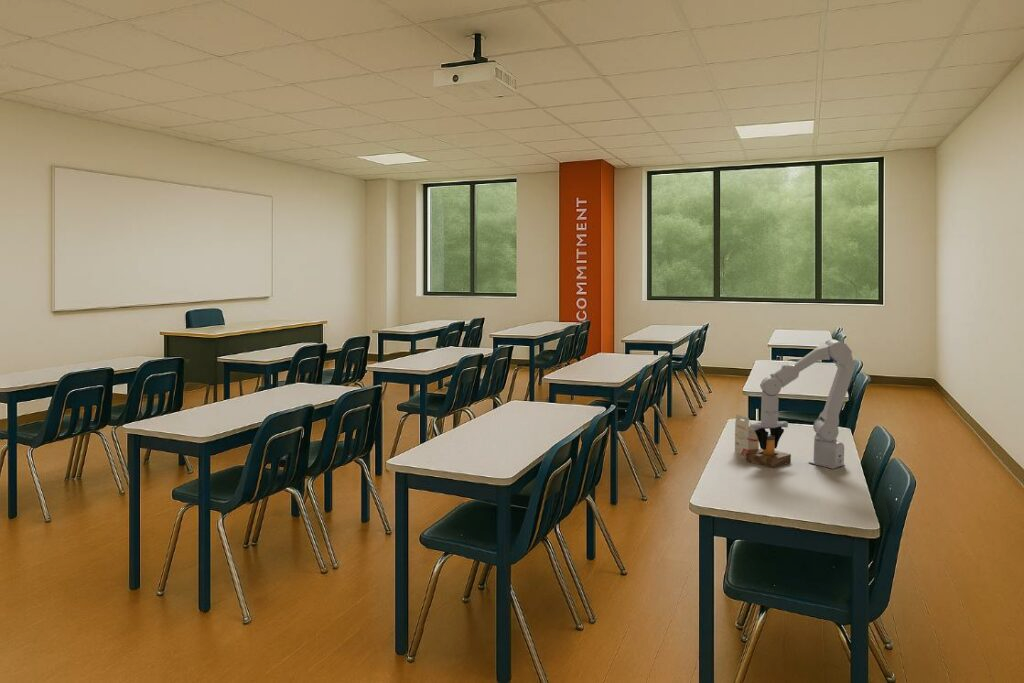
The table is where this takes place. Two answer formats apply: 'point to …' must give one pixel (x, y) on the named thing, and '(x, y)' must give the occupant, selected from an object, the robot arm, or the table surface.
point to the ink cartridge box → (745, 436)
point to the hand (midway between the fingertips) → (768, 448)
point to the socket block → (768, 458)
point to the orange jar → (770, 446)
